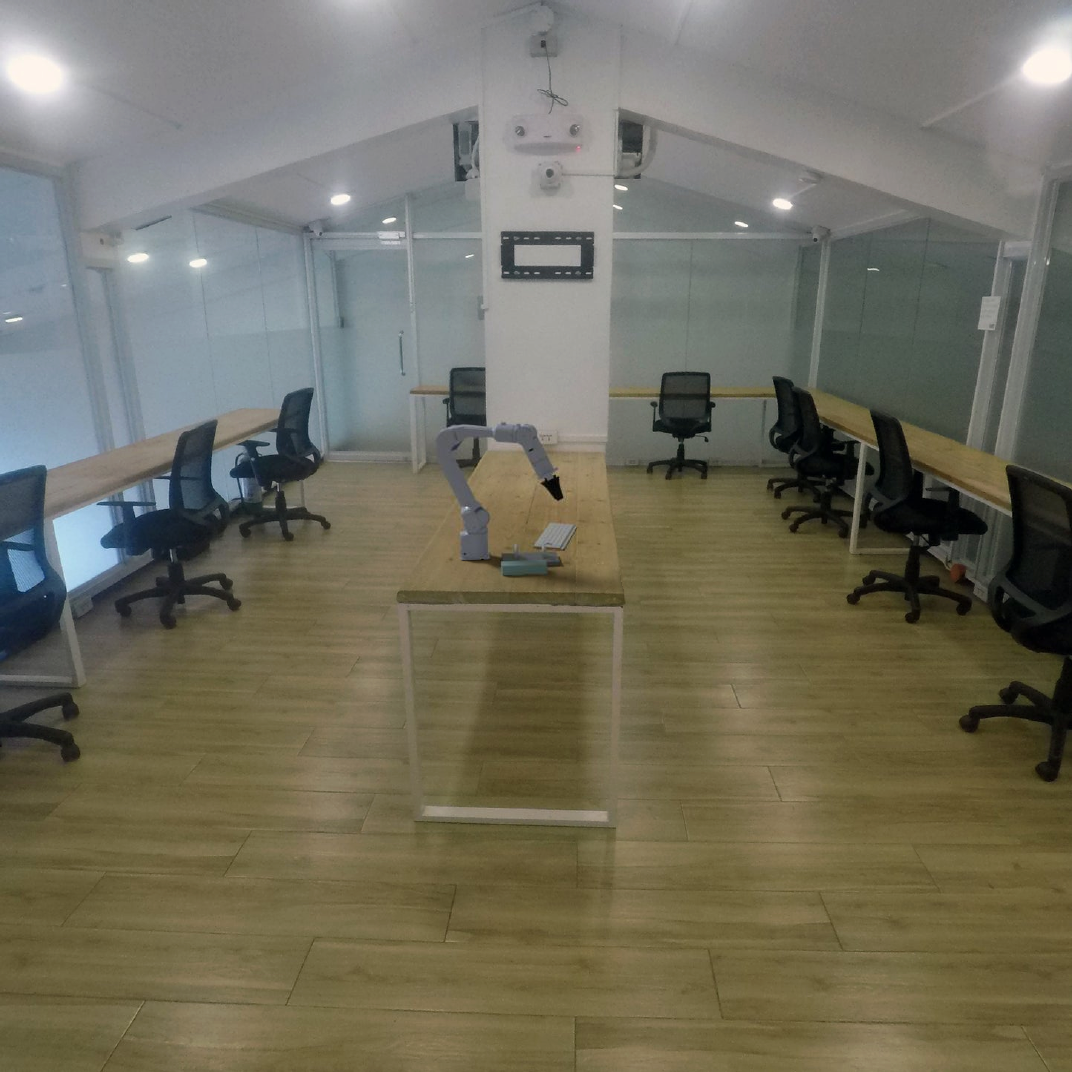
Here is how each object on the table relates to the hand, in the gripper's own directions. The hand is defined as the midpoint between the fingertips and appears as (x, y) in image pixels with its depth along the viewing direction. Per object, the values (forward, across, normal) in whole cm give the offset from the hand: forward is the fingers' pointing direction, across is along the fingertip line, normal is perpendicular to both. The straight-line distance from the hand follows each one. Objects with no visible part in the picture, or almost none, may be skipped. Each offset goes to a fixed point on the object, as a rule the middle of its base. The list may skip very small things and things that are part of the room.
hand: (559, 498), depth 238 cm
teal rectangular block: (+15, -4, +21) cm, 26 cm away
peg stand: (+14, +7, +17) cm, 24 cm away
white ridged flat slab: (+16, +34, +5) cm, 38 cm away
